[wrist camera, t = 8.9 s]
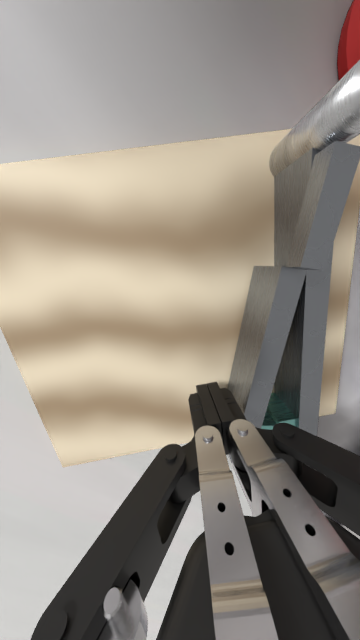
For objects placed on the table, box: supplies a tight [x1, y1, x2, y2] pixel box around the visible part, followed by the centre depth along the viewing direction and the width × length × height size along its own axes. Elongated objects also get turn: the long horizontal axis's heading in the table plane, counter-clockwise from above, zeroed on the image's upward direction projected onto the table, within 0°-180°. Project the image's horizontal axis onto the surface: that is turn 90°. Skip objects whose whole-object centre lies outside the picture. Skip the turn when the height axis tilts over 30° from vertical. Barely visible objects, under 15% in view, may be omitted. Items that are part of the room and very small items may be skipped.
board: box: [0, 129, 360, 467], centre depth 14 cm, size 21×24×1 cm
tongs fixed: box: [267, 60, 360, 436], centre depth 11 cm, size 20×3×5 cm, turn 8°
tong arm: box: [227, 141, 360, 462], centre depth 12 cm, size 18×3×4 cm, turn 173°
